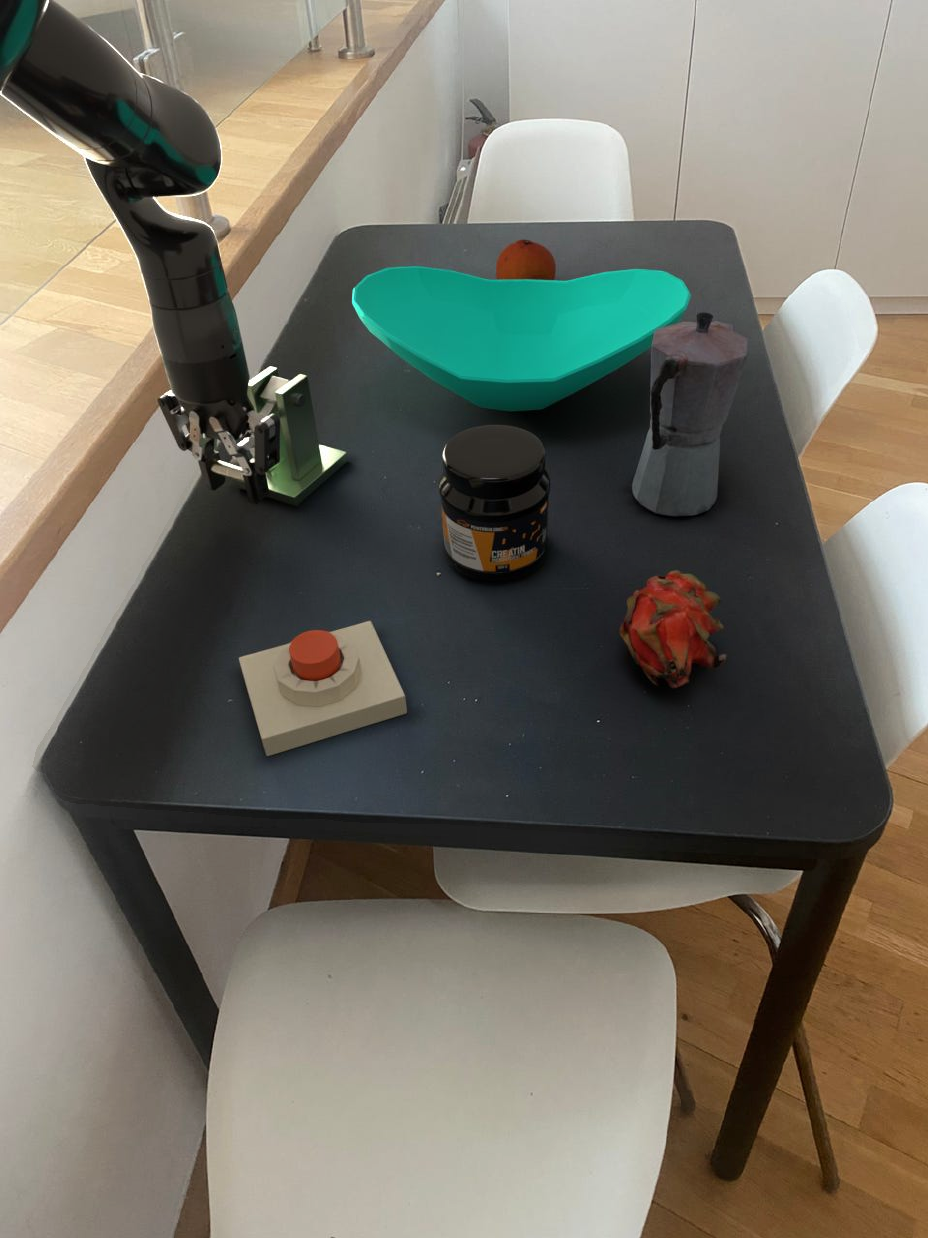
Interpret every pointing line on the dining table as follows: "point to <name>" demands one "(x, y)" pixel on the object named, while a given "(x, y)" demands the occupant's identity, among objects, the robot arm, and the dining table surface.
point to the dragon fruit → (672, 627)
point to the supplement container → (494, 502)
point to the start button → (315, 655)
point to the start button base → (322, 692)
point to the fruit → (525, 262)
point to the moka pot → (688, 414)
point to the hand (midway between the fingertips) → (237, 492)
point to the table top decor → (517, 328)
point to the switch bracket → (295, 441)
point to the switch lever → (233, 467)
